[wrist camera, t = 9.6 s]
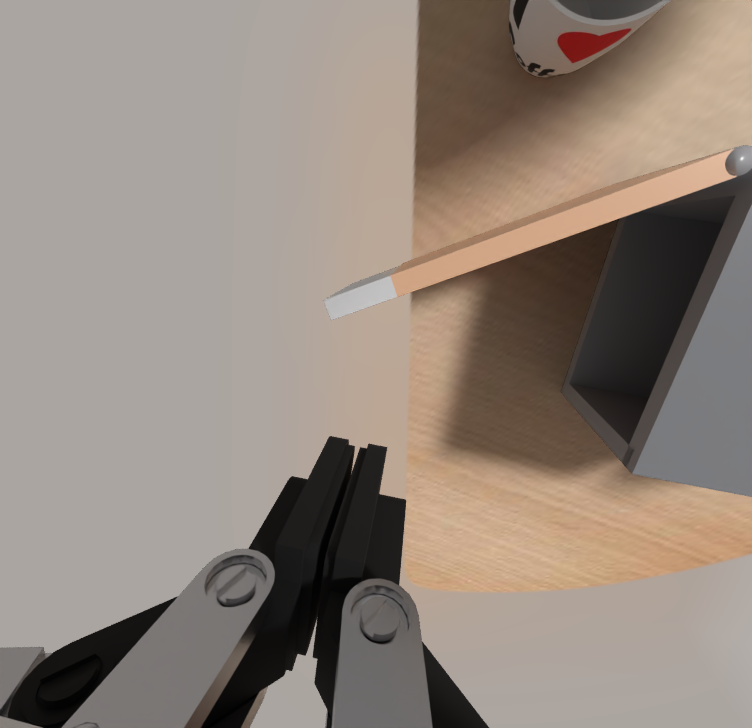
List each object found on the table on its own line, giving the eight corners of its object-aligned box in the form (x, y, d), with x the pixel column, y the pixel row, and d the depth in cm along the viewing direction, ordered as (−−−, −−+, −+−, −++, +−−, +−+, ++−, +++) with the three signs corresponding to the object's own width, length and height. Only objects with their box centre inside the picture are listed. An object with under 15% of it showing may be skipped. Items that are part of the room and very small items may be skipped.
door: (624, 180, 26) (755, 140, 16) (627, 197, 27) (757, 169, 16) (358, 280, 31) (323, 300, 21) (363, 293, 31) (331, 320, 21)
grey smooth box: (627, 194, 27) (770, 161, 16) (803, 217, 26) (1089, 200, 15) (560, 392, 32) (632, 473, 21) (704, 417, 31) (860, 517, 20)
